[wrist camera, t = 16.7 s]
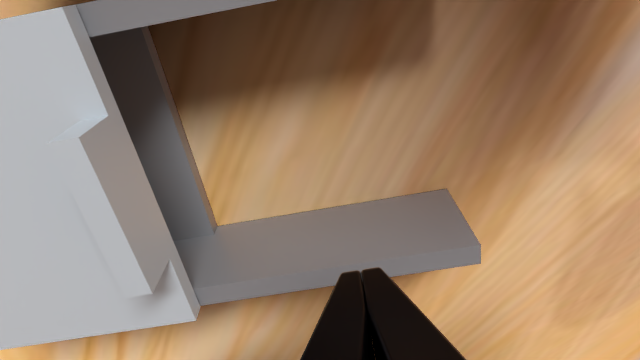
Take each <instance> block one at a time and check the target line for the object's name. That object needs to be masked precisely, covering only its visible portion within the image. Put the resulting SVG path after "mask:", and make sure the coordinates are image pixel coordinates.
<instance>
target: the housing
mask: <svg viewBox="0 0 640 360" xmlns="http://www.w3.org/2000/svg"><path fill="white" fill-rule="evenodd" d="M270 1H275V0H96V1H91V2H86V3H82V4H77V5H76V7H77V9H78V12H79V14H80V17H81V19H82V22H83V24H84V26H85V29H86V31H87V34H88V36H89V39H90V41H91V43H92V46H93V48H94V51H95V53H96V55H97V58H98V60H99V63H100V65H101V68H102V70H103V72H104V75H105V77H106V80H107V82H108V85H109V87H110V89H111V92H112V94H113V97H114V99H115V101H116V104H117V106H118V109H119V111H120V114H121V116H122V118H123V121H124V123H125V126H126V128H127V131H128V133H129V135H130V138H131V140H132V143H133V145H134V147H135V150H136V152H137V155H138V157H139V160H140V162H141V164H142V167H143V169H144V172H145V174H146V177H147V179H148V181H149V184H150V186H151V189H152V191H153V193H154V196H155V198H156V201H157V203H158V206H159V208H160V210H161V213H162V215H163V218H164V220H165V223H166V225H167V227H168V230H169V232H170V235H171V237H172V239H173V242H174V244H175V247H176V249H177V252H178V254H179V256H180V259H181V261H182V264H183V266H184V269H185V271H186V273H187V276H188V278H189V281H190V283H191V285H192V288H193V290H194V293H195V295H196V298H197V300H198V302H199V305H200V306H203V305H209V304H216V303H222V302H229V301H236V300H242V299H249V298H255V297H262V296H269V295H275V294H282V293H289V292H295V291H302V290H308V289H315V288H322V287H328V286H335V285H336V283H337V280H338V278H339V276H340V274H341V273H343V272H349V271H355V270H358V271H360V272H361V271H362V270H363V269H368V268H375V267H380V268H381V269H382V270H383V271H384V272H385V273H386V274H387V275H388V276H389V277H394V276H401V275H408V274H414V273H421V272H427V271H434V270H441V269H447V268H454V267H460V266H467V265H474V264H480V263H481V244H480V243H479V241H478V239H477V238H476V236H475V235H474V233H473V231H472V230H471V228H470V226H469V225H468V223H467V221H466V220H465V218H464V216H463V215H462V213H461V211H460V210H459V208H458V206H457V205H456V203H455V201H454V200H453V198H452V197H451V195H450V193H449V192H448V190H447V189H442V190H436V191H430V192H424V193H417V194H411V195H405V196H399V197H393V198H387V199H381V200H375V201H369V202H362V203H356V204H350V205H344V206H338V207H332V208H326V209H320V210H314V211H307V212H301V213H295V214H289V215H283V216H277V217H271V218H265V219H259V220H253V221H246V222H240V223H234V224H228V225H222V226H217V224H216V221H215V218H214V215H213V212H212V209H211V206H210V204H209V201H208V198H207V195H206V192H205V189H204V186H203V183H202V181H201V178H200V175H199V172H198V169H197V166H196V163H195V160H194V158H193V155H192V152H191V149H190V146H189V143H188V140H187V137H186V135H185V132H184V129H183V126H182V123H181V120H180V117H179V114H178V112H177V109H176V106H175V103H174V100H173V97H172V94H171V91H170V89H169V86H168V83H167V80H166V77H165V74H164V71H163V68H162V66H161V63H160V60H159V57H158V54H157V51H156V48H155V45H154V43H153V40H152V37H151V34H150V31H149V28H148V26H149V25H154V24H159V23H164V22H169V21H174V20H179V19H184V18H189V17H194V16H199V15H205V14H210V13H215V12H220V11H225V10H230V9H235V8H240V7H245V6H250V5H255V4H260V3H265V2H270ZM361 277H362V276H361Z"/></svg>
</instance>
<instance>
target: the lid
mask: <svg viewBox="0 0 640 360" xmlns="http://www.w3.org/2000/svg"><path fill="white" fill-rule="evenodd" d="M199 310H200V305H199V302H198V300H197V298H196V295H195V293H194V290H193V288H192V285H191V283H190V281H189V278H188V276H187V273H186V271H185V269H184V266H183V264H182V261H181V259H180V256H179V254H178V252H177V249H176V247H175V244H174V242H173V239H172V237H171V235H170V232H169V230H168V227H167V225H166V223H165V220H164V218H163V215H162V213H161V210H160V208H159V206H158V203H157V201H156V198H155V196H154V193H153V191H152V189H151V186H150V184H149V181H148V179H147V177H146V174H145V172H144V169H143V167H142V164H141V162H140V160H139V157H138V155H137V152H136V150H135V147H134V145H133V143H132V140H131V138H130V135H129V133H128V131H127V128H126V126H125V123H124V121H123V118H122V116H121V114H120V111H119V109H118V106H117V104H116V101H115V99H114V97H113V94H112V92H111V89H110V87H109V85H108V82H107V80H106V77H105V75H104V72H103V70H102V68H101V65H100V63H99V60H98V58H97V55H96V53H95V51H94V48H93V46H92V43H91V41H90V39H89V36H88V34H87V31H86V29H85V26H84V24H83V22H82V19H81V17H80V14H79V12H78V9H77V7H76V5H70V6H64V7H59V8H54V9H49V10H44V11H39V12H35V13H30V14H25V15H20V16H15V17H10V18H5V19H0V350H3V349H10V348H16V347H23V346H30V345H37V344H43V343H50V342H57V341H63V340H70V339H77V338H84V337H90V336H97V335H104V334H110V333H117V332H124V331H131V330H137V329H144V328H151V327H157V326H164V325H171V324H178V323H184V322H191V321H196V320H197V317H198V314H199Z"/></svg>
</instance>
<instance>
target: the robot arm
mask: <svg viewBox="0 0 640 360" xmlns="http://www.w3.org/2000/svg"><path fill="white" fill-rule="evenodd" d="M361 276H362V277H361ZM371 336H372V337H371ZM372 342H373V343H372ZM373 348H374V349H373ZM374 354H375V355H374ZM300 360H466V359H465V358H464V357H463V356H462V354H461V353H460V352H459V351H458V350H457V349H456V348H455V347H454V346H453V345H452V344H451V343H450V342H449V341H448V339H447V338H446V337H445V336H444V335H443V334H442V333H441V332H440V331H439V330H438V329H437V328H436V327H435V325H434V324H433V323H432V322H431V321H430V320H429V319H428V318H427V317H426V316H425V315H424V314H423V313H422V311H421V310H420V309H419V308H418V307H417V306H416V305H415V304H414V303H413V302H412V301H411V300H410V299H409V298H408V296H407V295H406V294H405V293H404V292H403V291H402V290H401V289H400V288H399V287H398V286H397V285H396V284H395V282H394V281H393V280H392V279H391V278H390V277H389V276H388V275H387V274H386V273H385V272H384V271H383V270H382V269H381V268H380V267H375V268H368V269H363V270H362V271H361V272H360V271H358V270H355V271H349V272H343V273H341V274H340V276H339V278H338V280H337V283H336V285H335V287H334V289H333V291H332V293H331V295H330V297H329V300H328V302H327V304H326V306H325V308H324V310H323V312H322V314H321V317H320V319H319V321H318V323H317V325H316V327H315V329H314V331H313V334H312V336H311V338H310V340H309V342H308V344H307V346H306V349H305V351H304V353H303V355H302V357H301V359H300Z"/></svg>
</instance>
